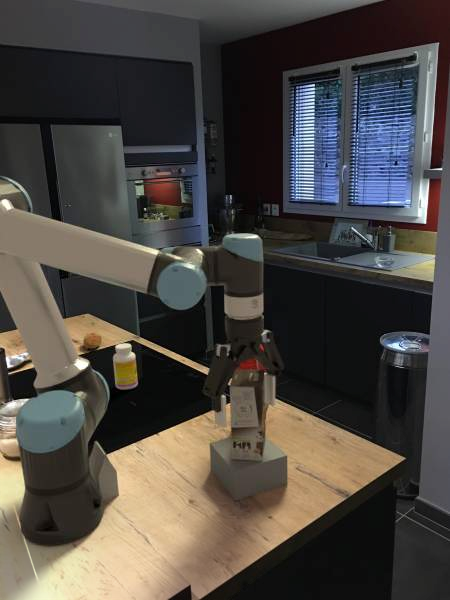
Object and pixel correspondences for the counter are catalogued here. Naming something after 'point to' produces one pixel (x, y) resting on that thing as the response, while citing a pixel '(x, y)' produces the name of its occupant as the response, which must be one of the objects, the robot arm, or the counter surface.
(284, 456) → the riser block
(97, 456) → the white carton
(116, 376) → the supplement bottle
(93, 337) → the pastry
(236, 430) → the coffee box
